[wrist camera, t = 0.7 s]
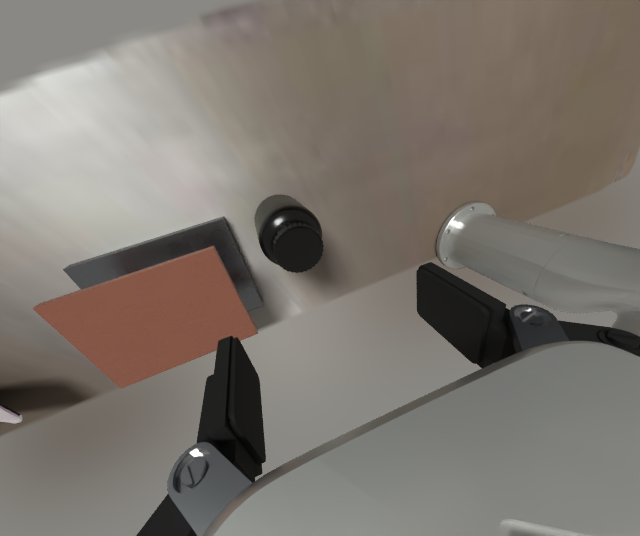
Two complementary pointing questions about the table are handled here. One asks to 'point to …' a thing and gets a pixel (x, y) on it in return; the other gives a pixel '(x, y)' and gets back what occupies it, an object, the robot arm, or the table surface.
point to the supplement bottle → (288, 233)
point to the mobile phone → (9, 415)
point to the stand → (157, 302)
